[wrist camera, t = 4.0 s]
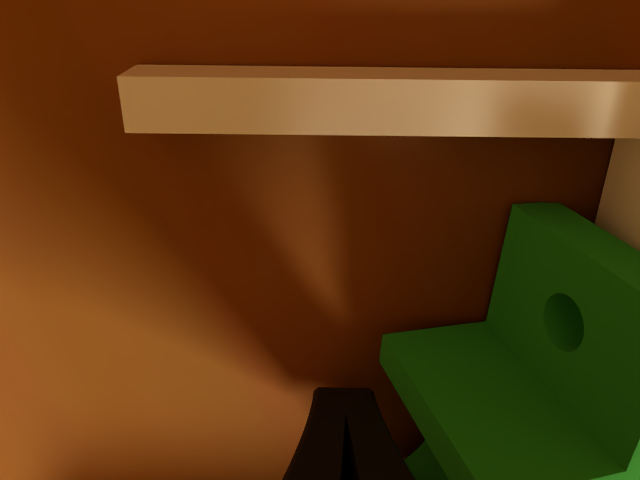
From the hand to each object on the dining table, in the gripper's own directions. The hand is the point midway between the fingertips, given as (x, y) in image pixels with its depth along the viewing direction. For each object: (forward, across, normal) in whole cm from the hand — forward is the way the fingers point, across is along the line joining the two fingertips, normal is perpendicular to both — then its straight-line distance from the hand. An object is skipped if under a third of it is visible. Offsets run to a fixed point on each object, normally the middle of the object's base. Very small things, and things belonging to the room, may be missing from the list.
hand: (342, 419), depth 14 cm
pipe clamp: (+1, -2, 0) cm, 3 cm away
